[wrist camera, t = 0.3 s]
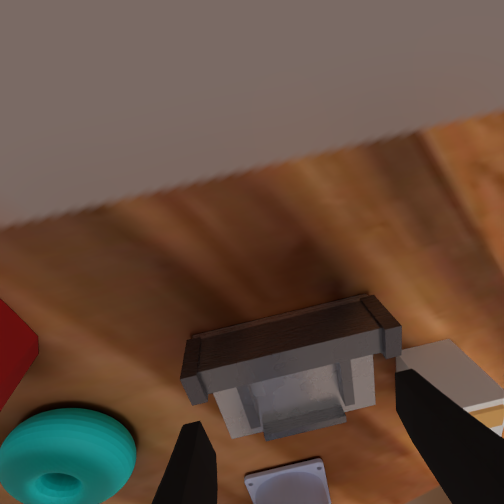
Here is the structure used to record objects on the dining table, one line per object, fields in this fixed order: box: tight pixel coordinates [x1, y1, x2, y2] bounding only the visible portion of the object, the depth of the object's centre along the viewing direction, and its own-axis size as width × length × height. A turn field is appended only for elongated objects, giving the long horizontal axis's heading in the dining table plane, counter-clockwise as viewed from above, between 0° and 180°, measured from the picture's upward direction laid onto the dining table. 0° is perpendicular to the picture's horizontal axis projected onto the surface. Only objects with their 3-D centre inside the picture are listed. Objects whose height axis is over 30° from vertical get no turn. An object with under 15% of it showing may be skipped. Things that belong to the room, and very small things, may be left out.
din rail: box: [180, 294, 402, 441], centre depth 21 cm, size 12×14×4 cm
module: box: [396, 339, 504, 436], centre depth 22 cm, size 5×4×6 cm
